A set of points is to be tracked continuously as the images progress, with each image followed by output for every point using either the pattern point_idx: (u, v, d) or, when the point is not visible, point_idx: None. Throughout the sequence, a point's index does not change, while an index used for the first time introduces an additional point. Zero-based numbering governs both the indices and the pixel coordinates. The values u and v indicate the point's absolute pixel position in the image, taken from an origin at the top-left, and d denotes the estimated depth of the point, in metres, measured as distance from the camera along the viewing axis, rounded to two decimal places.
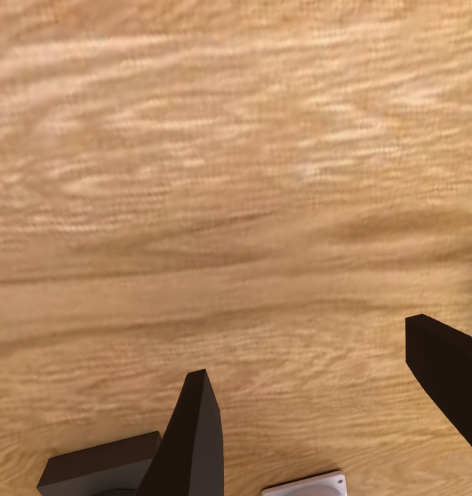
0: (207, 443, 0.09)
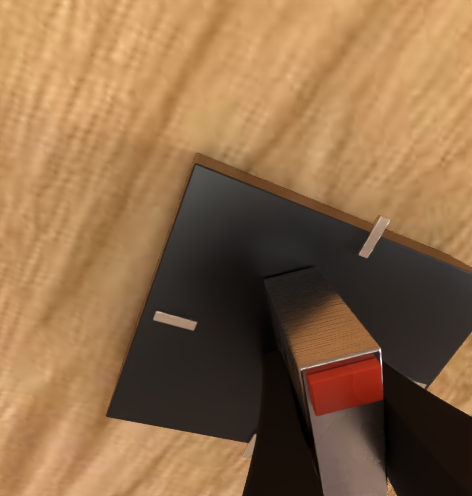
0: None
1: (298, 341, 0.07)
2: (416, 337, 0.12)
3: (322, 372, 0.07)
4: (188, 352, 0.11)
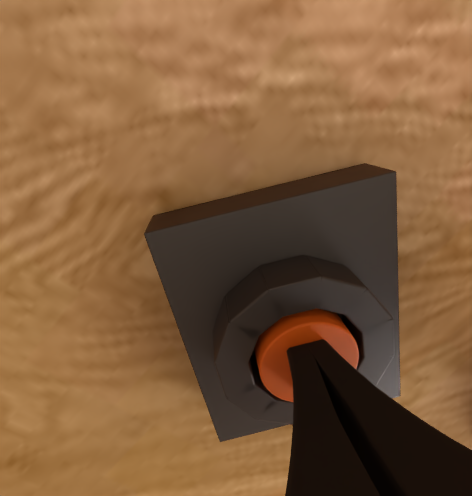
0: None
1: None
2: None
3: None
4: None
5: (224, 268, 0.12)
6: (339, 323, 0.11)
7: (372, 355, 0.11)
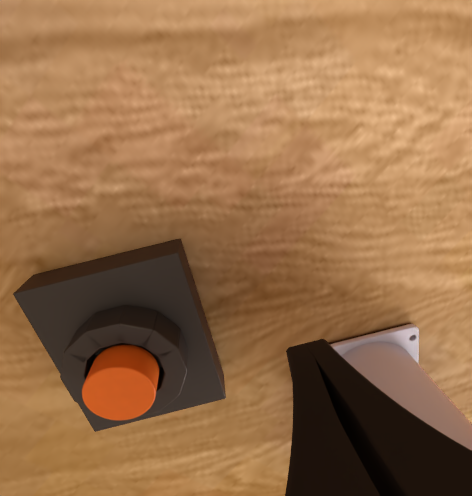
0: None
1: None
2: None
3: None
4: None
5: (72, 314, 0.17)
6: (136, 366, 0.16)
7: (170, 372, 0.17)
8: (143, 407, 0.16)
